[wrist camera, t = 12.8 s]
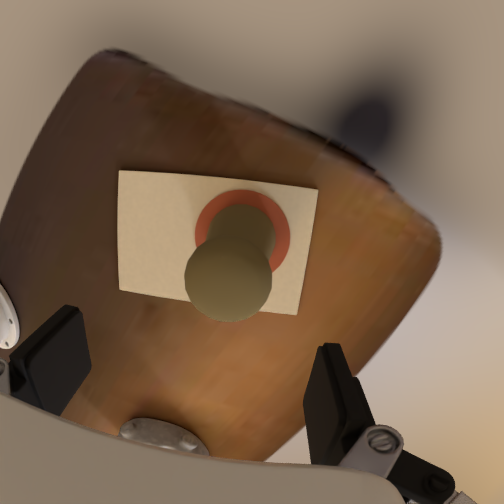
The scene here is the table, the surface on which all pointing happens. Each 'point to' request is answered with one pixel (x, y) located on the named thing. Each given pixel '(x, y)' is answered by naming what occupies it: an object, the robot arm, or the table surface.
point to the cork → (232, 265)
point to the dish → (162, 435)
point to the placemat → (205, 230)
